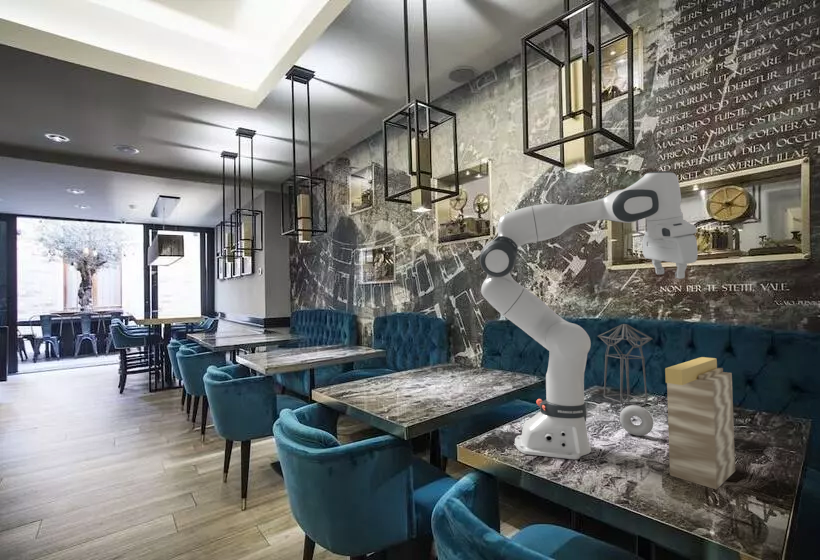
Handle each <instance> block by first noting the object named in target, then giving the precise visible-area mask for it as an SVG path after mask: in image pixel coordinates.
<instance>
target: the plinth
mask: <svg viewBox="0 0 820 560" xmlns="http://www.w3.org/2000/svg"><path fill="white" fill-rule="evenodd" d="M732 374H733V373H732V372H727V371H726V372H725V371H724V368H723V367H717V369H714V370H711V371H709V372H706V373H704V374H701V375H699V376H698V379H697V380H694V381H692V382H689V383H687V384H684V385H677V384H671V383H666V390H667V391H666V393H667V423H668V425H667V427H668V429H667V430H668V455H669V456H668V457H669V461H668V462H669V476H671V477H674V478H678V479H680V480H685V481H687V482H691V483H693V484H697V485H700V486H703V487H706V488H710V489H714V490H718V489H719V487H721V485H723V483H725V482H726V481H727V480H728V479H729V478H730V477H731V476H732V475H733V474H734V473H735V472H736V458H735V457H736V454H735V453H736V452H735V450H736V449H735V425H734V403H733V401H734V400H733V375H732Z"/></svg>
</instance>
